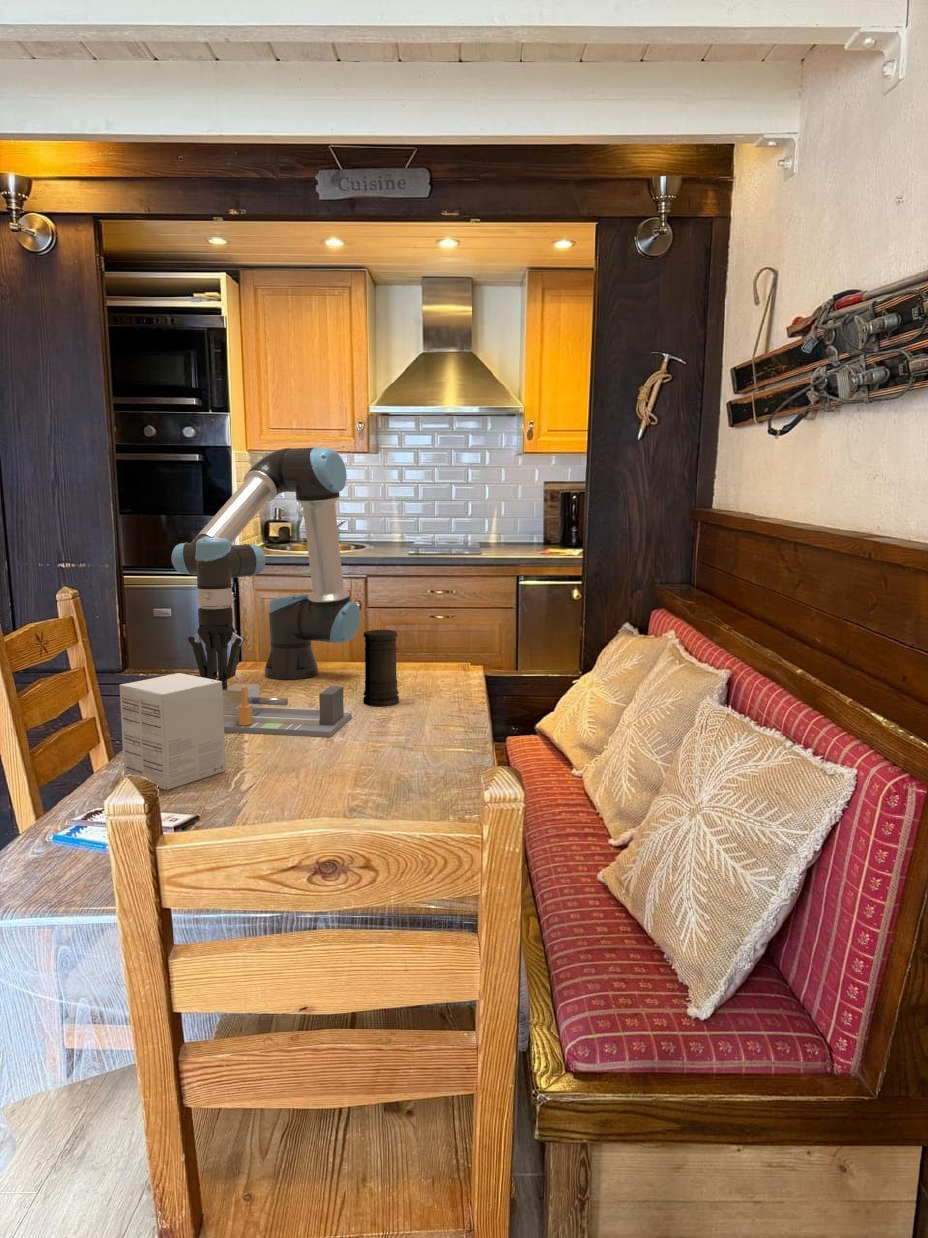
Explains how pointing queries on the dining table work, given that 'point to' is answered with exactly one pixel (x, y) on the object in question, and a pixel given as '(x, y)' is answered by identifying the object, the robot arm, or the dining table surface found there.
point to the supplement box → (173, 729)
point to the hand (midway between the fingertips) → (218, 707)
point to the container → (380, 668)
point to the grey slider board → (297, 718)
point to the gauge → (234, 699)
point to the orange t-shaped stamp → (245, 709)
